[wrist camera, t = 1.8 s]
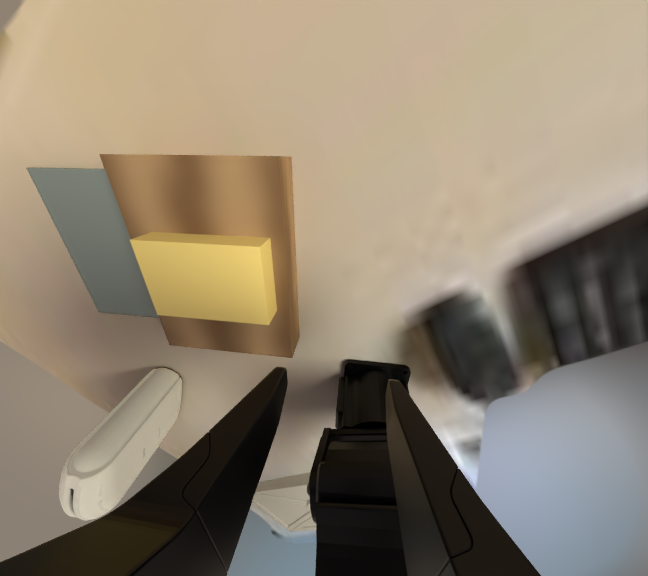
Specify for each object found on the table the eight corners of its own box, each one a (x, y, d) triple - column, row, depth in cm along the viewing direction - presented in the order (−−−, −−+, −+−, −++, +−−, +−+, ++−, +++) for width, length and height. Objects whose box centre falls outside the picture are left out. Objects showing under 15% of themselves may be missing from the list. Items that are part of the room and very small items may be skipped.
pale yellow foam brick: (270, 237, 17) (259, 246, 15) (277, 310, 20) (268, 325, 18) (152, 231, 18) (129, 239, 16) (174, 301, 21) (157, 315, 19)
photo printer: (181, 419, 35) (99, 538, 24) (152, 409, 34) (56, 524, 24) (187, 373, 30) (88, 496, 19) (153, 361, 29) (32, 478, 19)
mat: (141, 169, 19) (137, 169, 19) (186, 318, 25) (184, 320, 25) (30, 167, 20) (26, 167, 20) (101, 310, 27) (98, 312, 26)
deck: (291, 156, 17) (278, 156, 14) (299, 336, 25) (292, 357, 22) (136, 155, 18) (99, 154, 16) (189, 326, 26) (169, 344, 23)
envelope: (246, 480, 42) (292, 517, 46) (241, 496, 40) (289, 533, 45) (373, 458, 33) (414, 507, 38) (373, 477, 31) (417, 526, 36)
